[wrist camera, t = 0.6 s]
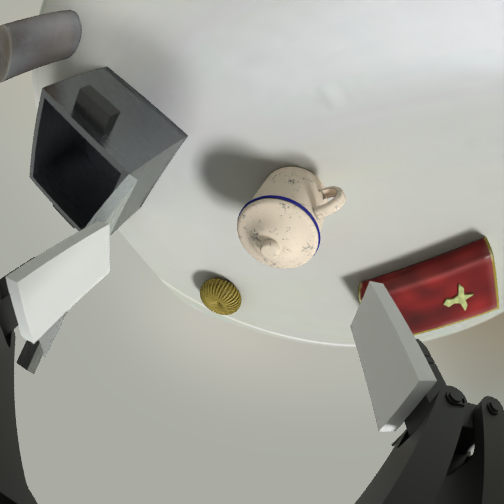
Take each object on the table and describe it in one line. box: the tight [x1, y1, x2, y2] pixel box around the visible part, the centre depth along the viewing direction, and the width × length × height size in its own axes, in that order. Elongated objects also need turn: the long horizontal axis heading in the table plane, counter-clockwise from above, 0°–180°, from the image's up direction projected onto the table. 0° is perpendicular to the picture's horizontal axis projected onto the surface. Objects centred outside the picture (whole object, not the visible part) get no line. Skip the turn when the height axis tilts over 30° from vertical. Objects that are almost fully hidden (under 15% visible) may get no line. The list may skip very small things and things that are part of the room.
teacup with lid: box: [237, 167, 346, 268], centre depth 31 cm, size 12×9×12 cm
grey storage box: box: [30, 67, 188, 234], centre depth 35 cm, size 24×18×12 cm
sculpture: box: [200, 278, 241, 315], centre depth 53 cm, size 8×4×8 cm
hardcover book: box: [358, 237, 499, 335], centre depth 36 cm, size 12×21×4 cm, turn 130°
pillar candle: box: [0, 10, 81, 82], centre depth 23 cm, size 10×10×15 cm
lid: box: [17, 174, 138, 374], centre depth 26 cm, size 18×21×1 cm
